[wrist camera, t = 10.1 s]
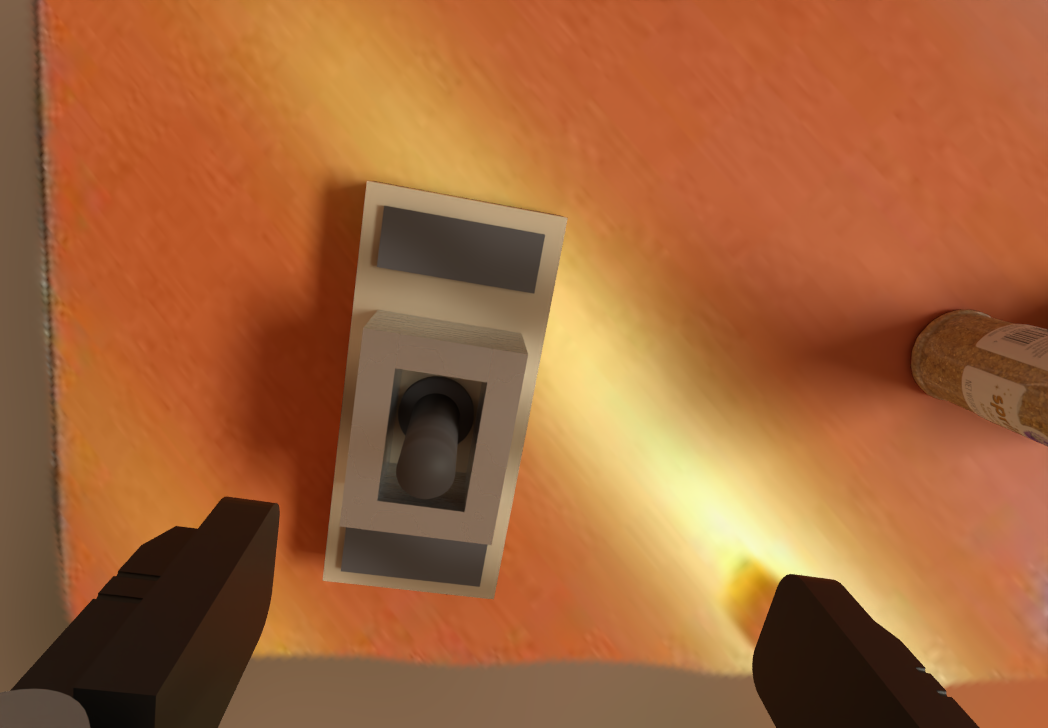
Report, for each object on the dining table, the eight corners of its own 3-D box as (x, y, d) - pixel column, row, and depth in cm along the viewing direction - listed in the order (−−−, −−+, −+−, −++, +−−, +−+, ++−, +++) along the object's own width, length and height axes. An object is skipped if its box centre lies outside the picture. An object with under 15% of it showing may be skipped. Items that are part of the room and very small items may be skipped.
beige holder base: (374, 181, 26) (332, 178, 18) (561, 215, 27) (594, 226, 19) (332, 556, 31) (283, 678, 23) (492, 574, 32) (497, 698, 24)
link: (378, 309, 26) (363, 328, 22) (521, 333, 26) (528, 354, 23) (356, 485, 28) (339, 526, 24) (490, 502, 28) (491, 545, 25)
